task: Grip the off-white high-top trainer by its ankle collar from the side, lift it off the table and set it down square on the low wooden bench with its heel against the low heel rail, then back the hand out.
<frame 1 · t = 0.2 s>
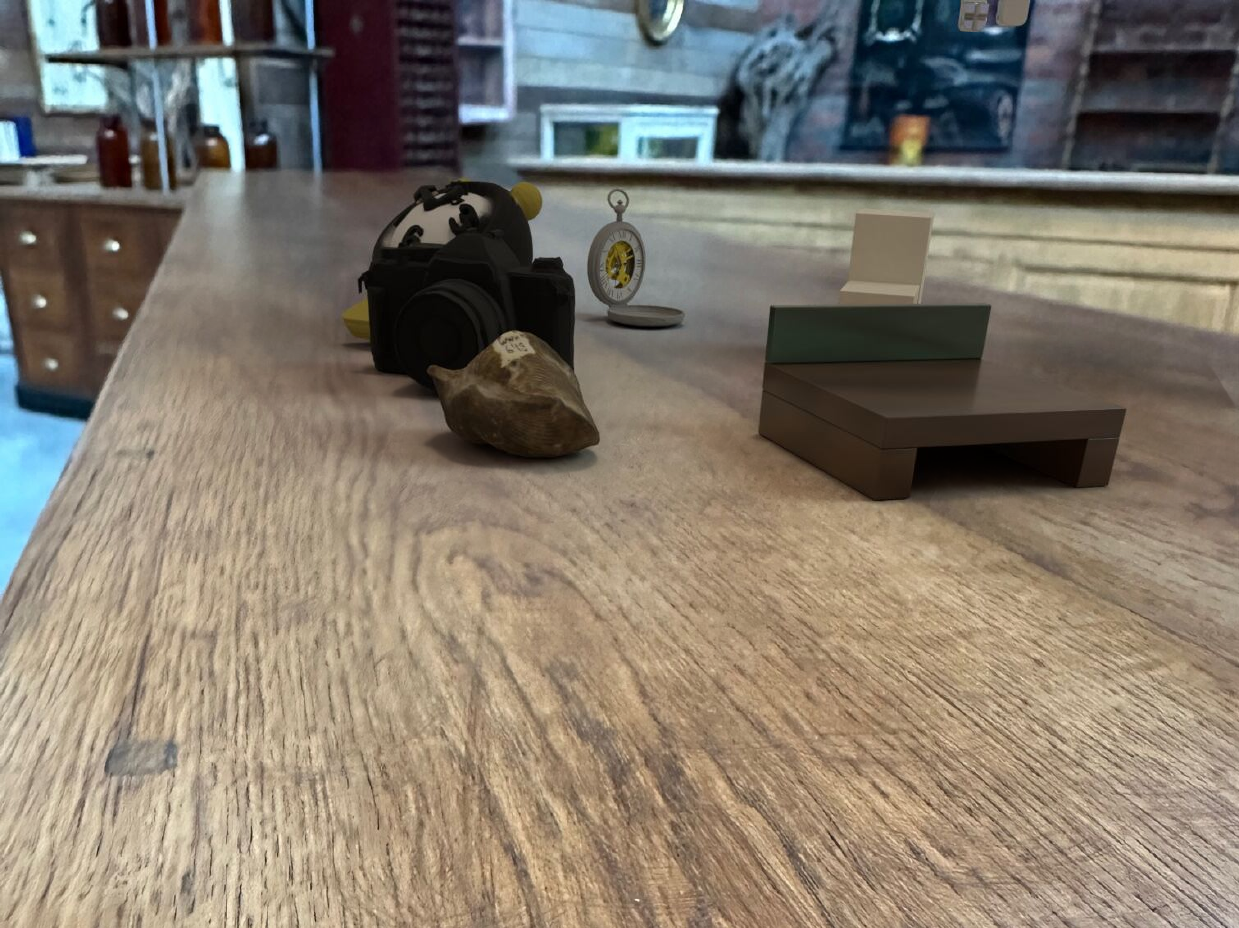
hand: (989, 28, 90), 22 cm above the worktop, tool pointing down, fingers open, 8 cm apart
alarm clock: (447, 339, 95), on the worktop
pocket watch: (636, 323, 105), on the worktop
film camera: (459, 386, 80), on the worktop
low wooden bench: (923, 458, 68), on the worktop
fossilized seashell: (516, 452, 66), on the worktop
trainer: (876, 355, 95), on the worktop
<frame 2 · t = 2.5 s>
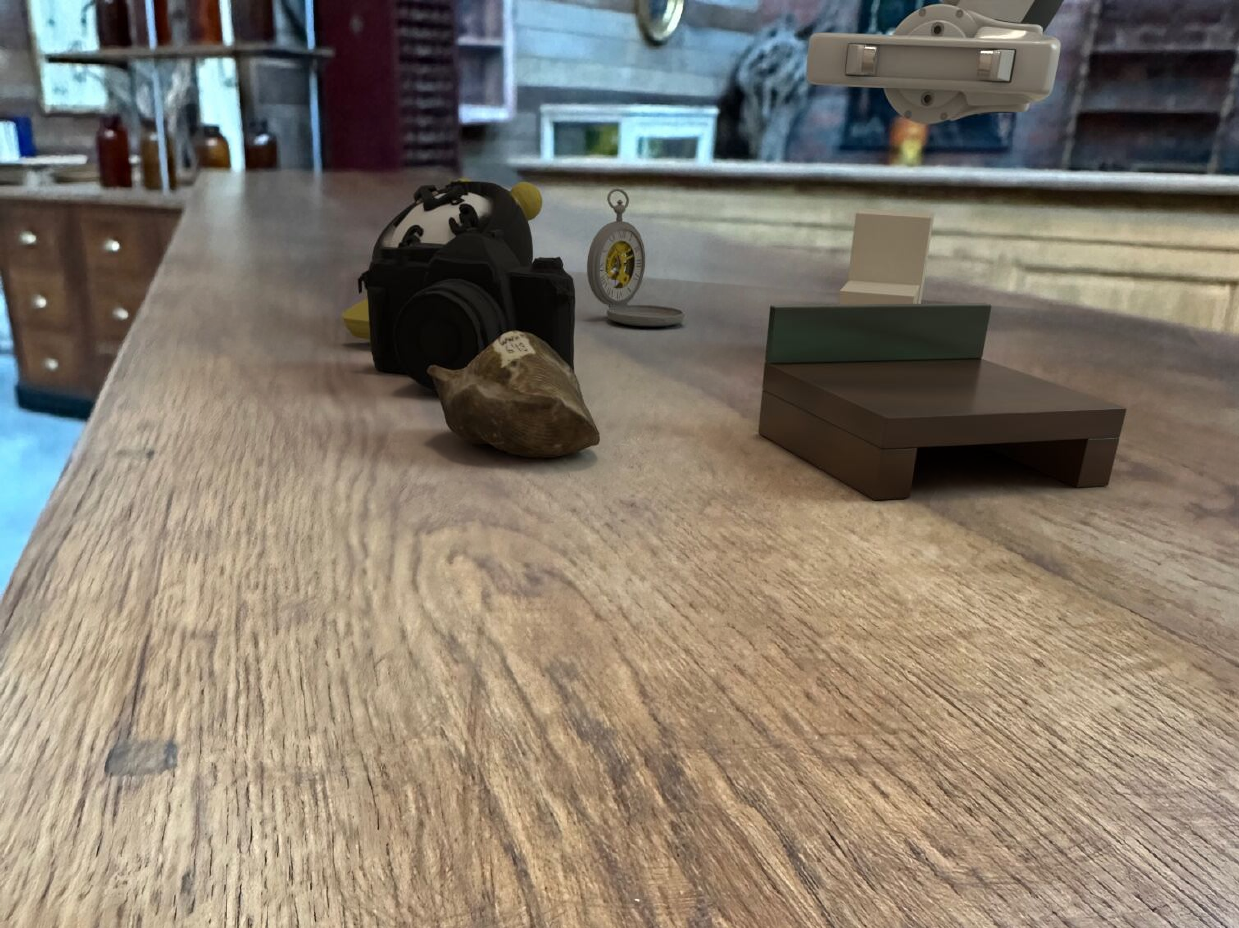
hand: (926, 61, 95), 20 cm above the worktop, tool horizontal, fingers open, 8 cm apart
nothing on the worktop moved.
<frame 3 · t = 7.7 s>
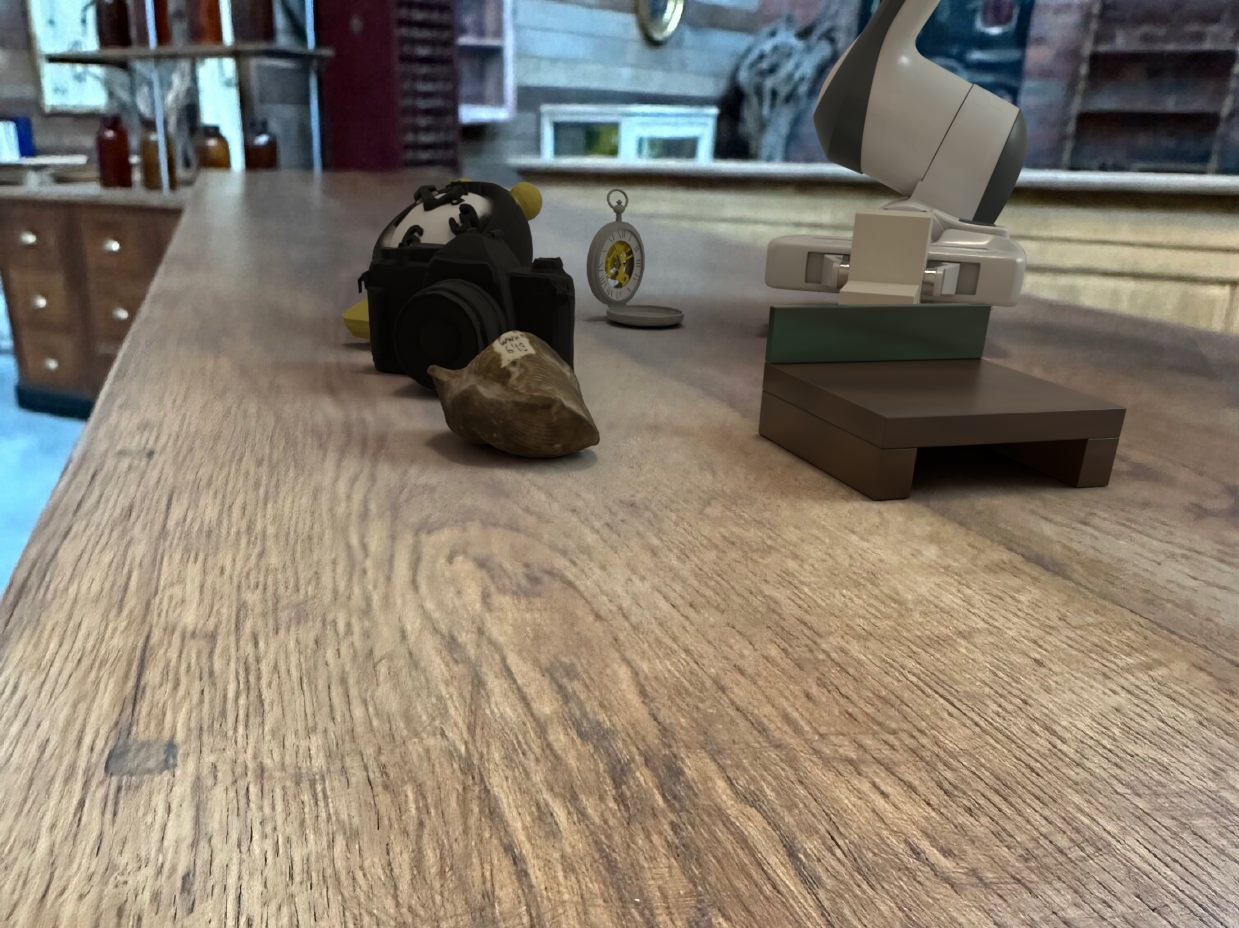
hand: (886, 280, 92), 6 cm above the worktop, tool horizontal, fingers closed on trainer, 5 cm apart
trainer: (875, 355, 95), on the worktop, touching gripper
everything else where it was.
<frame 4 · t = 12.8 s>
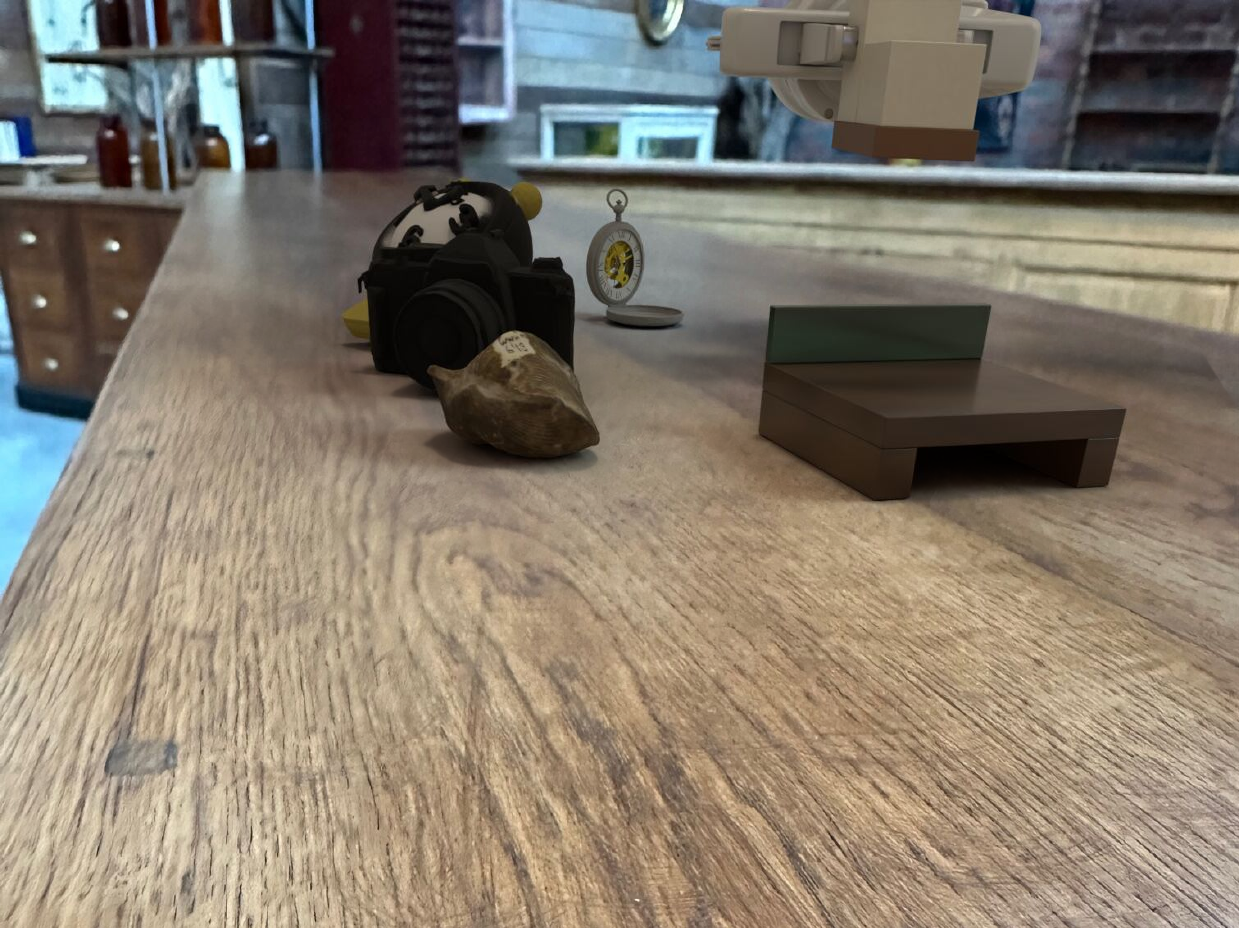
hand: (903, 45, 72), 20 cm above the worktop, tool horizontal, fingers closed on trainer, 5 cm apart
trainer: (885, 151, 75), point 14 cm above the worktop, touching gripper
everything else where it was.
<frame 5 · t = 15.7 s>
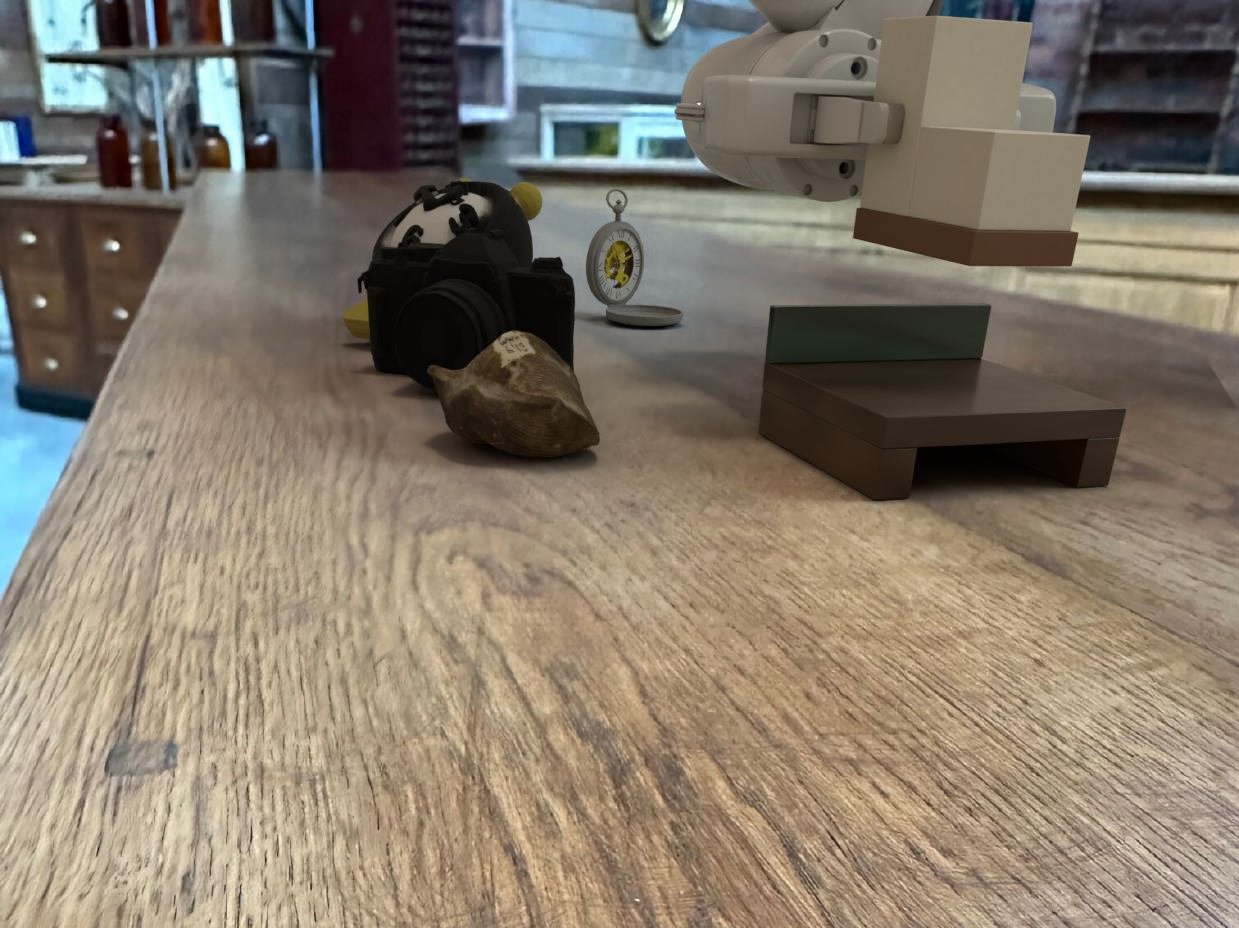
hand: (951, 126, 62), 16 cm above the worktop, tool horizontal, fingers closed on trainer, 5 cm apart
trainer: (922, 244, 65), point 10 cm above the worktop, touching gripper
everything else where it was.
when the fingers open (9 cm above the worktop, at t = 18.0 s): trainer stays where it is, resting on low wooden bench.
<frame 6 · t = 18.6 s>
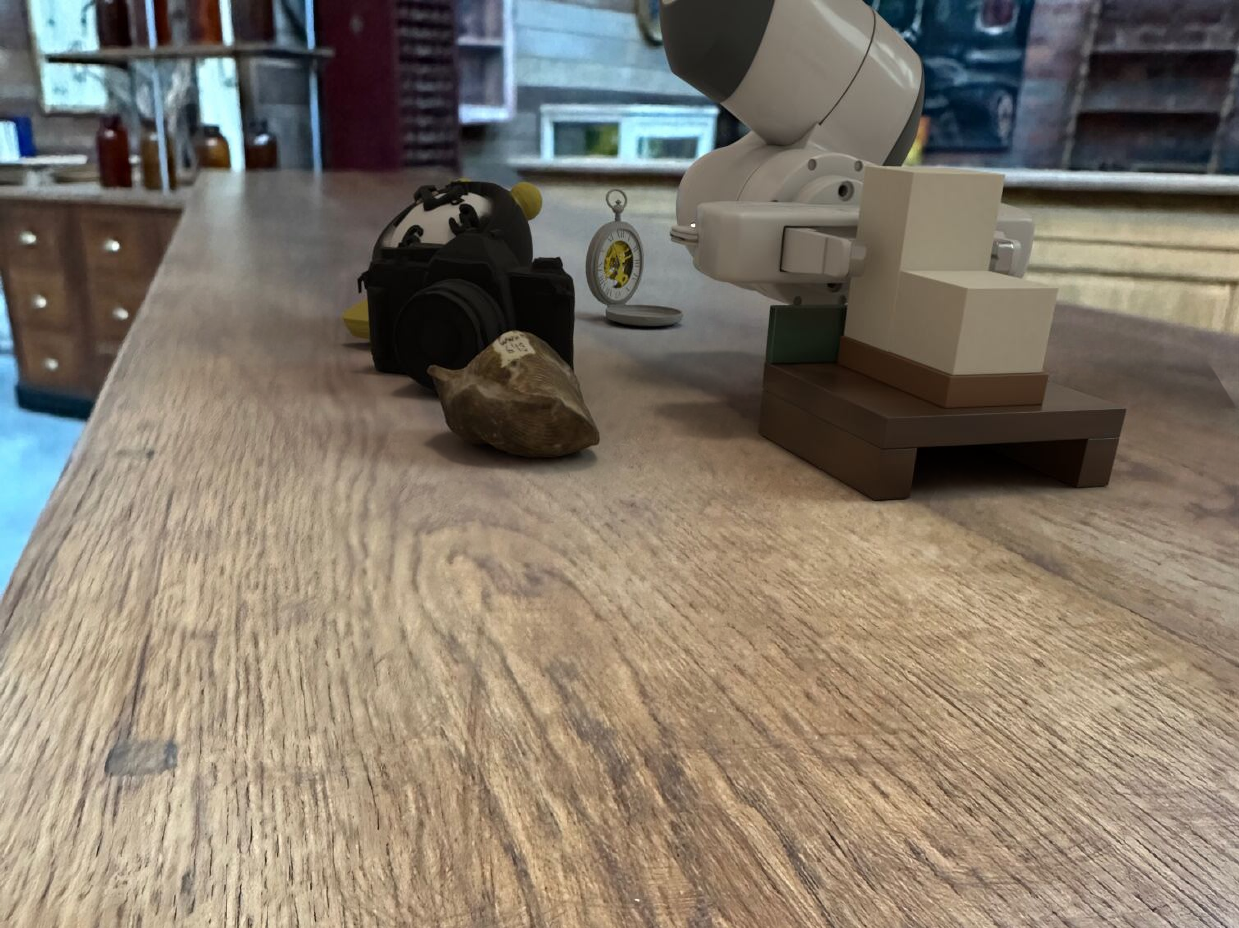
hand: (932, 259, 65), 10 cm above the worktop, tool horizontal, fingers open, 8 cm apart
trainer: (903, 371, 68), point 4 cm above the worktop, touching low wooden bench
everything else where it was.
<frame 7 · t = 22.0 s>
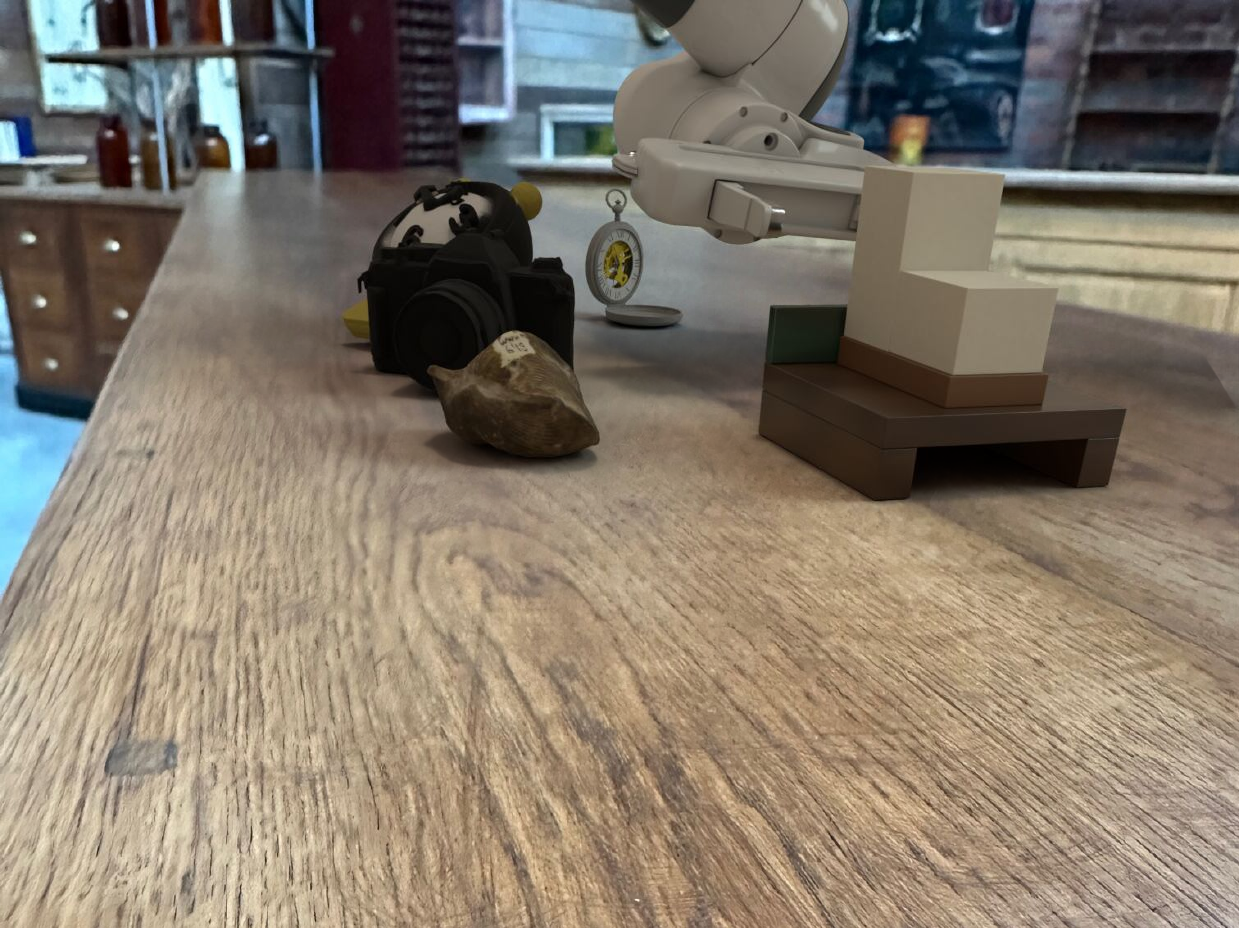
hand: (839, 230, 75), 10 cm above the worktop, tool horizontal, fingers open, 8 cm apart
nothing on the worktop moved.
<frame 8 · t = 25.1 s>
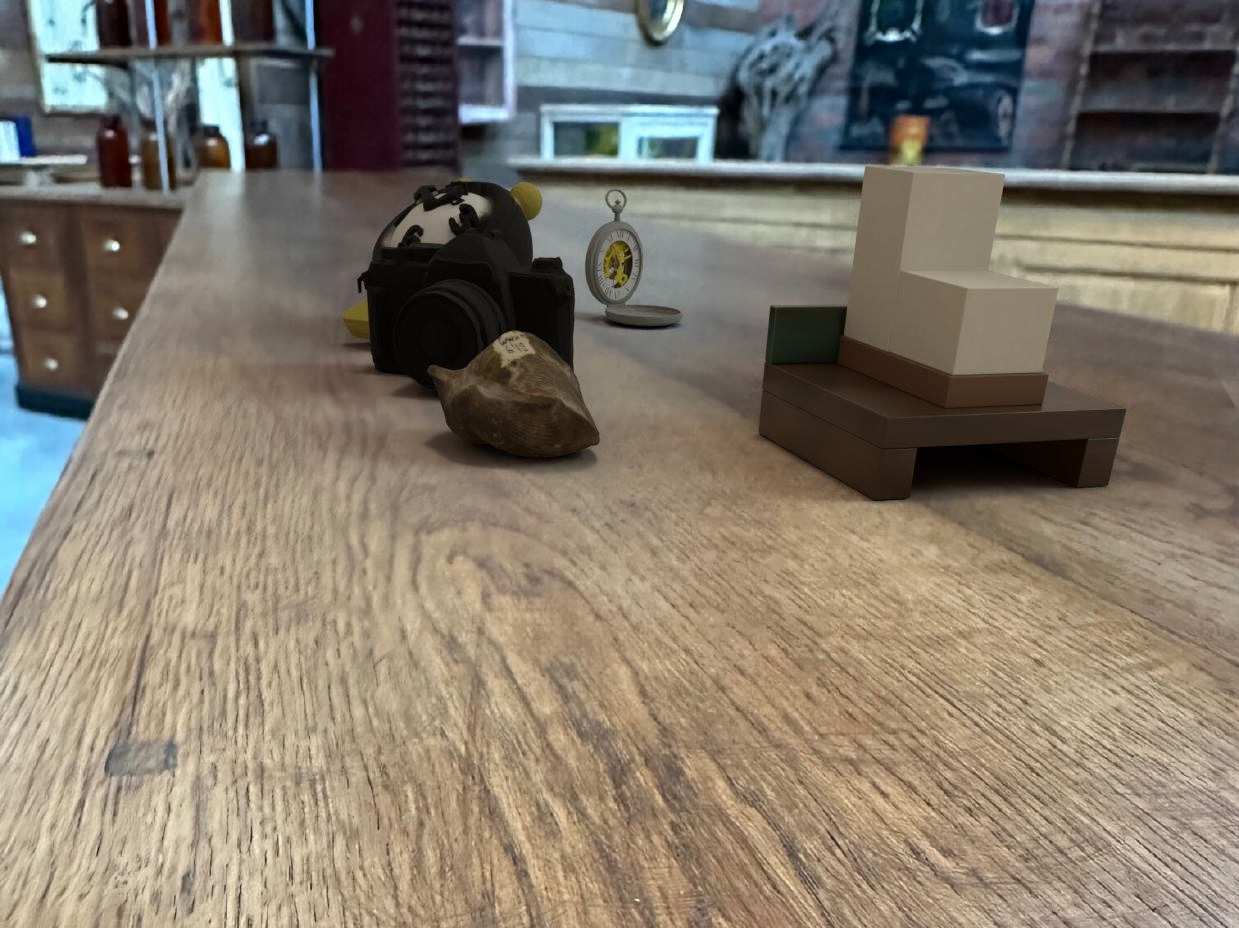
nothing on the worktop moved.
at the end: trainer 0.4 cm from the target spot on the low wooden bench, point 4.0 cm above the low wooden bench's base; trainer tilted 0°; the gripper is holding nothing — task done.
